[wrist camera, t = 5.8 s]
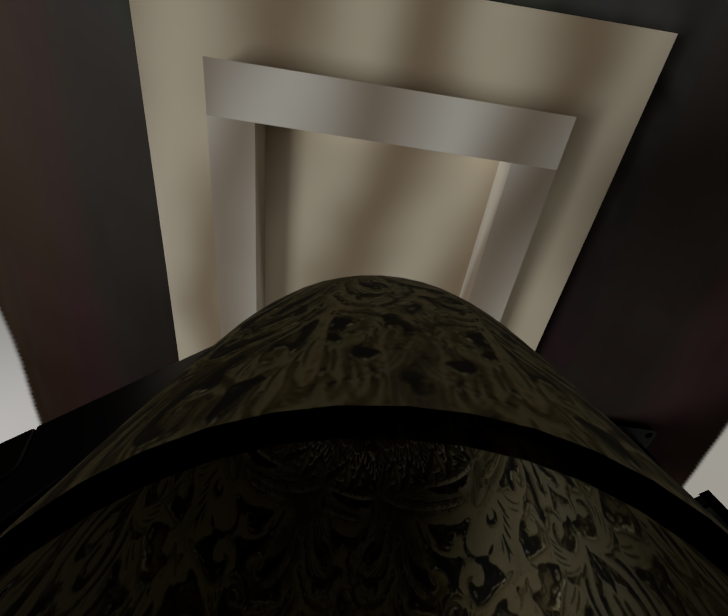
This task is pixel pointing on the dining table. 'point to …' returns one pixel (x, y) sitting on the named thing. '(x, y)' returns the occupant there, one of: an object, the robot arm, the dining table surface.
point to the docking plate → (381, 147)
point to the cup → (367, 482)
